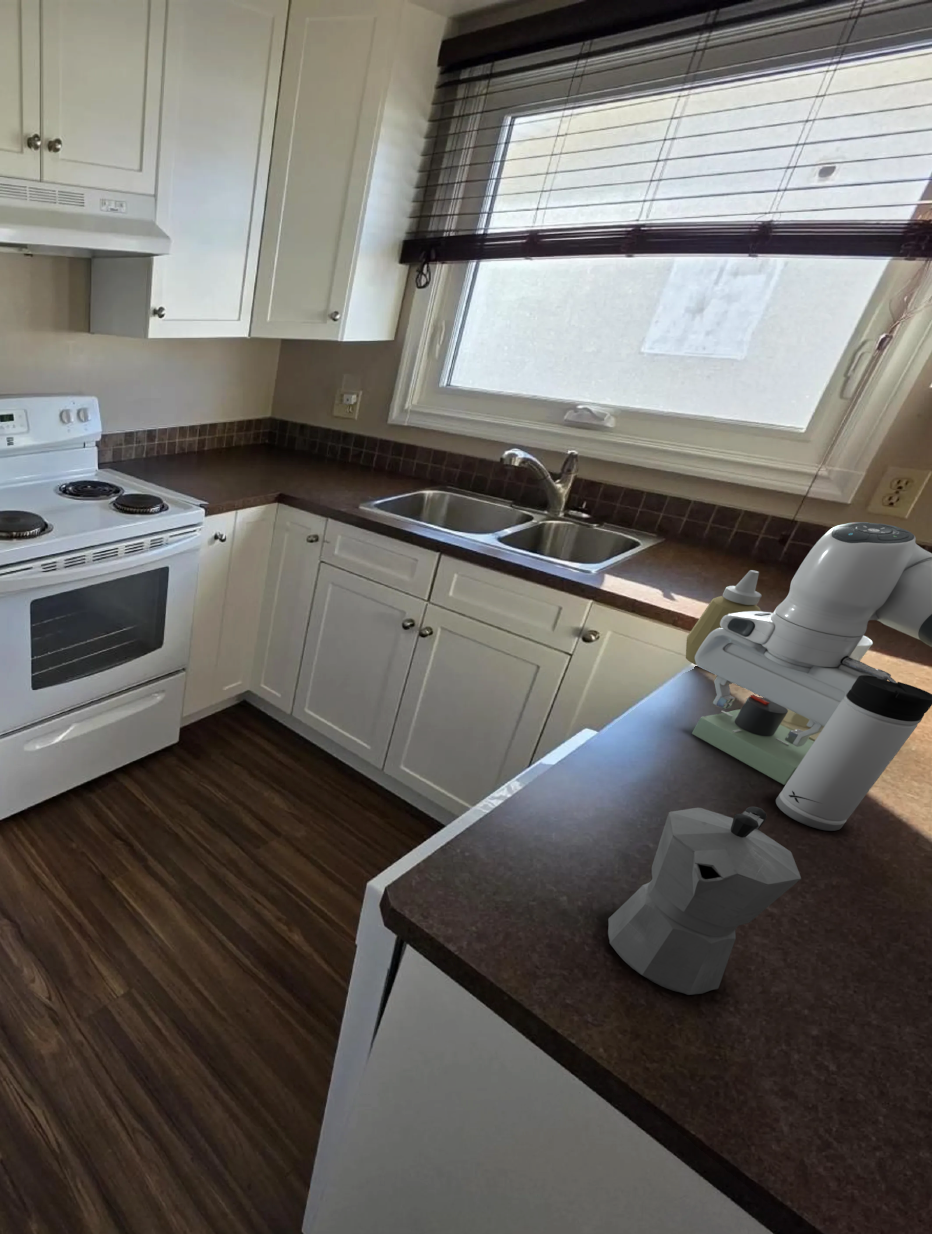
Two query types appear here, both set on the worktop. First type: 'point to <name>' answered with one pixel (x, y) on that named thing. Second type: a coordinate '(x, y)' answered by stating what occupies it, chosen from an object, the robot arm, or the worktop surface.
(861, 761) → the travel mug
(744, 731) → the dial panel
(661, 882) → the coffeepot
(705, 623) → the squeeze bottle
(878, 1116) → the worktop surface
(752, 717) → the timer dial
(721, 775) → the worktop surface
